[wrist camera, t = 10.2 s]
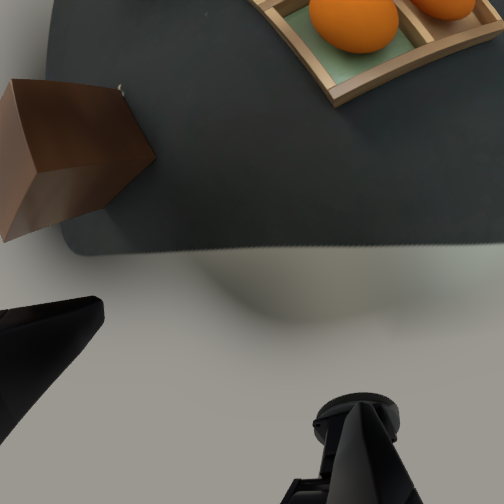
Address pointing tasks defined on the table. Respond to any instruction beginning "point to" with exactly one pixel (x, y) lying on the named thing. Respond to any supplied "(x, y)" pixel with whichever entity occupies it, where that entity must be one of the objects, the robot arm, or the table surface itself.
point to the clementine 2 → (445, 8)
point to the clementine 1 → (355, 23)
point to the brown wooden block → (63, 152)
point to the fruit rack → (381, 61)
